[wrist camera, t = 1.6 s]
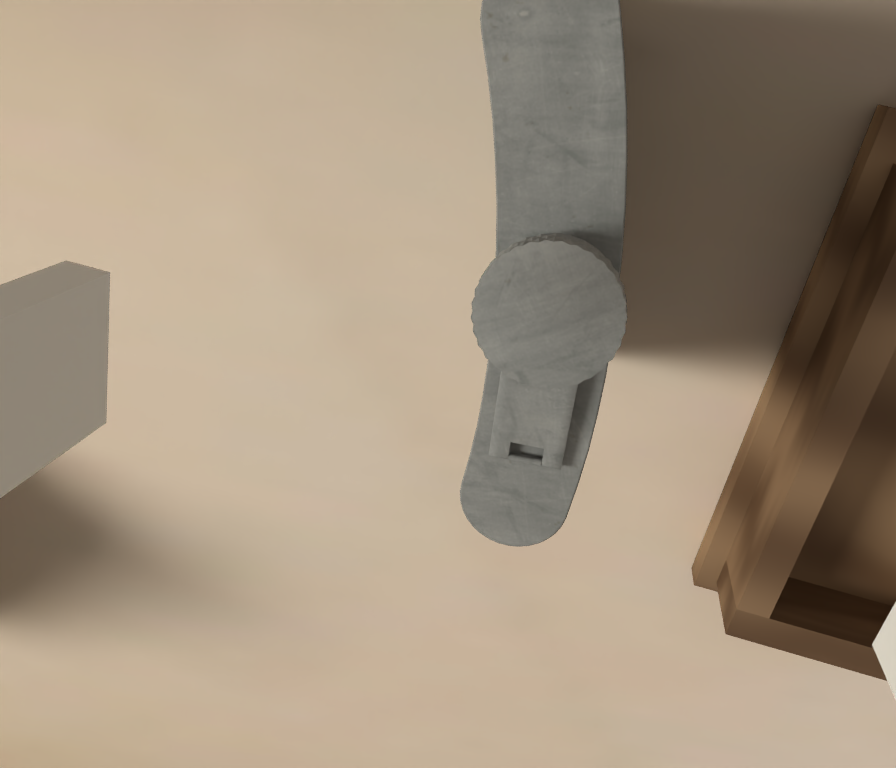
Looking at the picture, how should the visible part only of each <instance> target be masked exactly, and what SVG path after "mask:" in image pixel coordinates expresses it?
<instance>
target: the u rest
mask: <svg viewBox="0 0 896 768" xmlns="http://www.w3.org/2000/svg"><path fill="white" fill-rule="evenodd" d="M692 574H693V581H694V585H696V586H699V587H703V588H706V589H710V590H714V591H717V592H718V594H719V600H720V605H721V611H722V616H723V622H724V627H725V633H726V634H727V635H731V636H734V637H738V638H741V639H745V640H748V641H751V642H755V643H758V644H762V645H765V646H769V647H772V648H776V649H779V650H783V651H786V652H789V653H793V654H796V655H800V656H803V657H807V658H810V659H814V660H817V661H821V662H824V663H827V664H831V665H834V666H838V667H841V668H845V669H848V670H852V671H855V672H859V673H862V674H865V675H869V676H872V677H876V678H879V679H883V680H886V681H887V679H886V676H885V674H884V672H883V669H882V667H881V665H880V662H879V660H878V658H877V655H876V653H875V651H874V648H873V646H872V644H873V642H874V640H875V638H876V636H877V635H878V633H879V631H880V629H881V627H882V626H883V624H884V622H885V620H886V618H887V617H888V615H889V613H890V611H891V609H892V608H893V606H894V604H895V602H896V108H892V107H888V106H882V105H878V106H877V108H876V110H875V113H874V115H873V118H872V120H871V123H870V125H869V128H868V130H867V133H866V135H865V138H864V140H863V143H862V145H861V148H860V150H859V153H858V155H857V158H856V160H855V163H854V165H853V168H852V170H851V173H850V175H849V178H848V180H847V183H846V185H845V188H844V190H843V193H842V195H841V198H840V200H839V203H838V205H837V208H836V210H835V213H834V215H833V218H832V220H831V222H830V225H829V227H828V230H827V232H826V235H825V237H824V240H823V242H822V245H821V247H820V250H819V252H818V255H817V257H816V260H815V262H814V265H813V267H812V270H811V272H810V275H809V277H808V280H807V282H806V285H805V287H804V290H803V292H802V295H801V297H800V300H799V302H798V305H797V307H796V310H795V312H794V315H793V317H792V320H791V322H790V325H789V327H788V330H787V332H786V334H785V337H784V339H783V342H782V344H781V347H780V349H779V352H778V354H777V357H776V359H775V362H774V364H773V367H772V369H771V372H770V374H769V377H768V379H767V382H766V384H765V387H764V389H763V392H762V394H761V397H760V399H759V402H758V404H757V407H756V409H755V412H754V414H753V417H752V419H751V422H750V424H749V427H748V429H747V432H746V434H745V437H744V439H743V442H742V444H741V446H740V449H739V451H738V454H737V456H736V459H735V461H734V464H733V466H732V469H731V471H730V474H729V476H728V479H727V481H726V484H725V486H724V489H723V491H722V494H721V496H720V499H719V501H718V504H717V506H716V509H715V511H714V514H713V516H712V519H711V521H710V524H709V526H708V529H707V531H706V534H705V536H704V539H703V541H702V544H701V546H700V549H699V551H698V554H697V556H696V558H695V561H694V563H693V566H692Z"/></svg>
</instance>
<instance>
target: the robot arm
mask: <svg viewBox="0 0 896 768" xmlns="http://www.w3.org/2000/svg"><path fill="white" fill-rule="evenodd" d="M109 293H110V272H107V271H103V270H99V269H96V268H92V267H88V266H84V265H81V264H77V263H73V262H70V261H64V262H61V263H58V264H56V265H53V266H50V267H48V268H45V269H42V270H40V271H37V272H34V273H31V274H29V275H26V276H23V277H21V278H18V279H15V280H12V281H10V282H7V283H4V284H2V285H0V498H1V497H3V496H4V495H6V494H7V493H8V492H10V491H11V490H13V489H14V488H15V487H17V486H18V485H20V484H21V483H22V482H24V481H25V480H27V479H28V478H29V477H31V476H32V475H34V474H35V473H36V472H38V471H39V470H41V469H42V468H43V467H45V466H46V465H48V464H49V463H50V462H52V461H53V460H55V459H56V458H57V457H59V456H60V455H62V454H63V453H64V452H66V451H67V450H69V449H70V448H71V447H73V446H74V445H76V444H77V443H78V442H80V441H81V440H83V439H84V438H85V437H87V436H88V435H90V434H91V433H92V432H94V431H95V430H97V429H98V428H100V427H101V426H102V425H104V424H105V423H106V412H107V372H108V333H109ZM872 646H873V648H874V651H875V653H876V655H877V658H878V660H879V662H880V665H881V667H882V669H883V672H884V674H885V676H886V679H887V681H888V683H889V686H890V688H891V690H892V693H893V695H894V697H895V700H896V602H895V604H894V606H893V608H892V609H891V611H890V613H889V615H888V617H887V618H886V620H885V622H884V624H883V626H882V627H881V629H880V631H879V633H878V635H877V636H876V638H875V640H874V642H873V644H872Z"/></svg>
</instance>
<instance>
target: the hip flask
mask: <svg viewBox="0 0 896 768" xmlns="http://www.w3.org/2000/svg"><path fill="white" fill-rule="evenodd" d="M480 20H481V33H482V40H483V47H484V54H485V60H486V67H487V74H488V82H489V91H490V100H491V109H492V118H493V133H494V149H495V167H496V199H497V223H496V258H495V259H494V260H493V261H492V262H491V263H490V265H489V266H488V268H487V269H486V270H485V272H484V274H483V275H482V276H481V279H480V280H479V284H478V286H477V287H476V289H475V297H474V299H473V301H472V315H471V320H472V322H473V332H474V334H475V336H476V338H477V342H478V346H479V347H480V348H481V349H482V350H483V352H484V355H485V357H486V358H487V359H488V364H487V371H486V378H485V384H484V391H483V397H482V402H481V408H480V413H479V418H478V424H477V428H476V432H475V436H474V440H473V444H472V449H471V453H470V457H469V460H468V463H467V467H466V470H465V474H464V477H463V480H462V485H461V490H460V501H461V505H462V509H463V511H464V513H465V515H466V517H467V519H468V520H469V522H470V523H471V524H472V526H473V527H474V528H475V529H476V530H477V531H478V532H480V533H481V534H482V535H484V536H485V537H487V538H488V539H490V540H493V541H495V542H497V543H500V544H504V545H508V546H530V545H534V544H537V543H540V542H542V541H544V540H547V539H548V538H550V537H551V536H552V535H554V534H555V533H556V532H557V531H558V530H559V529H560V527H561V526H562V525H563V523H564V521H565V519H566V517H567V514H568V511H569V509H570V506H571V503H572V500H573V497H574V495H575V492H576V489H577V486H578V483H579V480H580V477H581V473H582V470H583V467H584V464H585V460H586V457H587V454H588V451H589V447H590V443H591V439H592V435H593V431H594V427H595V423H596V419H597V415H598V410H599V406H600V401H601V397H602V392H603V387H604V383H605V378H606V372H607V366H608V362H609V361H611V360H612V359H613V358H614V355H615V353H616V351H617V350H618V348H619V347H620V346H621V340H622V337H623V336H624V334H625V331H626V330H625V325H626V322H627V305H626V303H627V299H626V295H625V293H624V285H623V283H622V282H621V280H620V270H621V261H622V251H623V237H624V223H625V209H626V179H627V99H626V79H625V59H624V45H623V34H622V22H621V10H620V0H483V1H482V7H481V17H480Z"/></svg>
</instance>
